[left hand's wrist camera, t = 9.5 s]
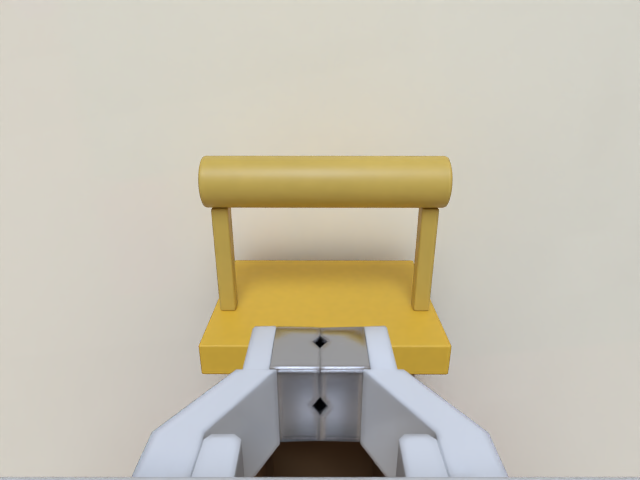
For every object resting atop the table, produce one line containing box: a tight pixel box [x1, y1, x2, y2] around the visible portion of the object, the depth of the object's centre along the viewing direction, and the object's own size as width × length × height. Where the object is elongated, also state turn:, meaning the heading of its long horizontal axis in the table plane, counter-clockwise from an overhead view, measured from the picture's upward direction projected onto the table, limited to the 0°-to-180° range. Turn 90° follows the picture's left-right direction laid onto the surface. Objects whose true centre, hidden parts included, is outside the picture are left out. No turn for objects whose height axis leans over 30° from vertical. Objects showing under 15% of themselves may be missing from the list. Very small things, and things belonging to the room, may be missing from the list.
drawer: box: [198, 156, 452, 477], centre depth 21 cm, size 23×9×7 cm, turn 0°
